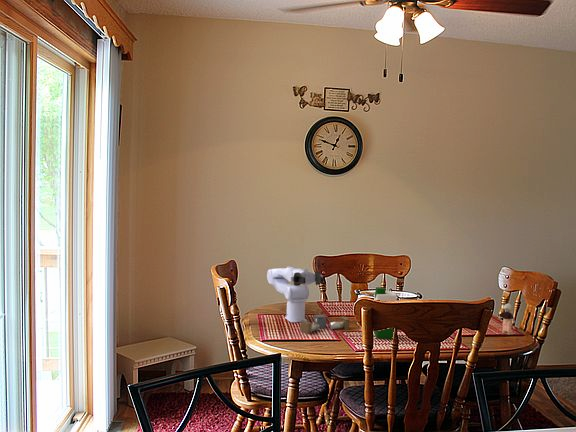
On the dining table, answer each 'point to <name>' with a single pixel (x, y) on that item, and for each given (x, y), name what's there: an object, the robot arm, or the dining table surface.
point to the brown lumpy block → (308, 327)
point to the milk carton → (384, 296)
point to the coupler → (320, 320)
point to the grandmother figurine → (507, 319)
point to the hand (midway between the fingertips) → (313, 280)
